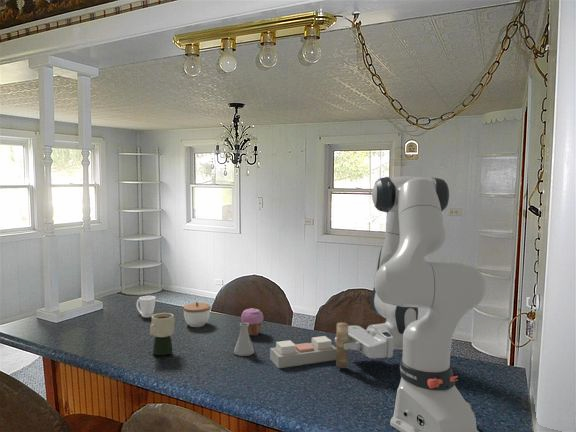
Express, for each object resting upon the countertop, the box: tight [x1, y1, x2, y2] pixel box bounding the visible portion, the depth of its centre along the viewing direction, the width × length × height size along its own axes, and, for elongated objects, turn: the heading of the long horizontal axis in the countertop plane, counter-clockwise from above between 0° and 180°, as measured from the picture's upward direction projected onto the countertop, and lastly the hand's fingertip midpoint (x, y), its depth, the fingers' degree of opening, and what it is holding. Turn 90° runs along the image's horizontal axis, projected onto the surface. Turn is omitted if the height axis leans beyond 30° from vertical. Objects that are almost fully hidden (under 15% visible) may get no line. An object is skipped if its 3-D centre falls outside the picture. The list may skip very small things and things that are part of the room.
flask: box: [233, 322, 255, 357], centre depth 147 cm, size 7×7×10 cm
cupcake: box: [240, 307, 264, 337], centre depth 166 cm, size 9×9×10 cm
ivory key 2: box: [311, 335, 333, 350], centre depth 145 cm, size 5×5×3 cm
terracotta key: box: [294, 342, 314, 353], centre depth 142 cm, size 5×5×3 cm
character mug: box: [149, 312, 176, 356], centre depth 145 cm, size 11×7×13 cm, turn 152°
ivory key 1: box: [275, 339, 296, 355], centre depth 140 cm, size 5×5×3 cm
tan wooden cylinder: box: [335, 322, 349, 368], centre depth 135 cm, size 4×4×13 cm
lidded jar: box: [183, 301, 211, 328], centre depth 176 cm, size 11×11×9 cm
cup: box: [135, 295, 157, 318], centre depth 188 cm, size 7×10×8 cm
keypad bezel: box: [269, 342, 336, 369], centre depth 142 cm, size 8×21×4 cm, turn 111°
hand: (339, 343), depth 135 cm, fingers closed on tan wooden cylinder, 4 cm apart
